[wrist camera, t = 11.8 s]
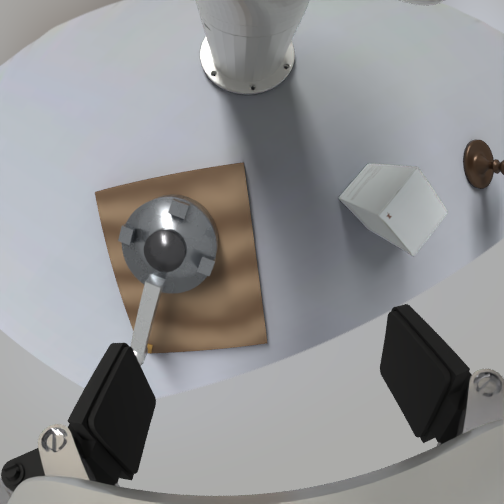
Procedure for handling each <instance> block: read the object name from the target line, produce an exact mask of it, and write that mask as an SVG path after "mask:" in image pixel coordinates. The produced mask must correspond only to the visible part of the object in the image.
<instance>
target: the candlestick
mask: <svg viewBox="0 0 504 504" xmlns="http://www.w3.org/2000/svg"><path fill="white" fill-rule="evenodd" d="M463 164H464V171H465V174H466V177H467V179H468V181H469V182H470V184H471V185H472V186H474V187H476V188H480V189H483V188H486V187H487V186H488V185H489V184H490V182H491V180H492V178H493V174H494V173H497V174H498V173H499V172H501V173H502V174H503V175H504V160H503V161H502V162H501V163H500V162H499V160H496V159H495V160H493V155H492V152H491V150H490V148H489V146H488V145H487V144H486V143H485V142H484V141H482V140H472V141H470V142H469V143H468V144H467V146H466V148H465V151H464V158H463Z"/></svg>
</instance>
